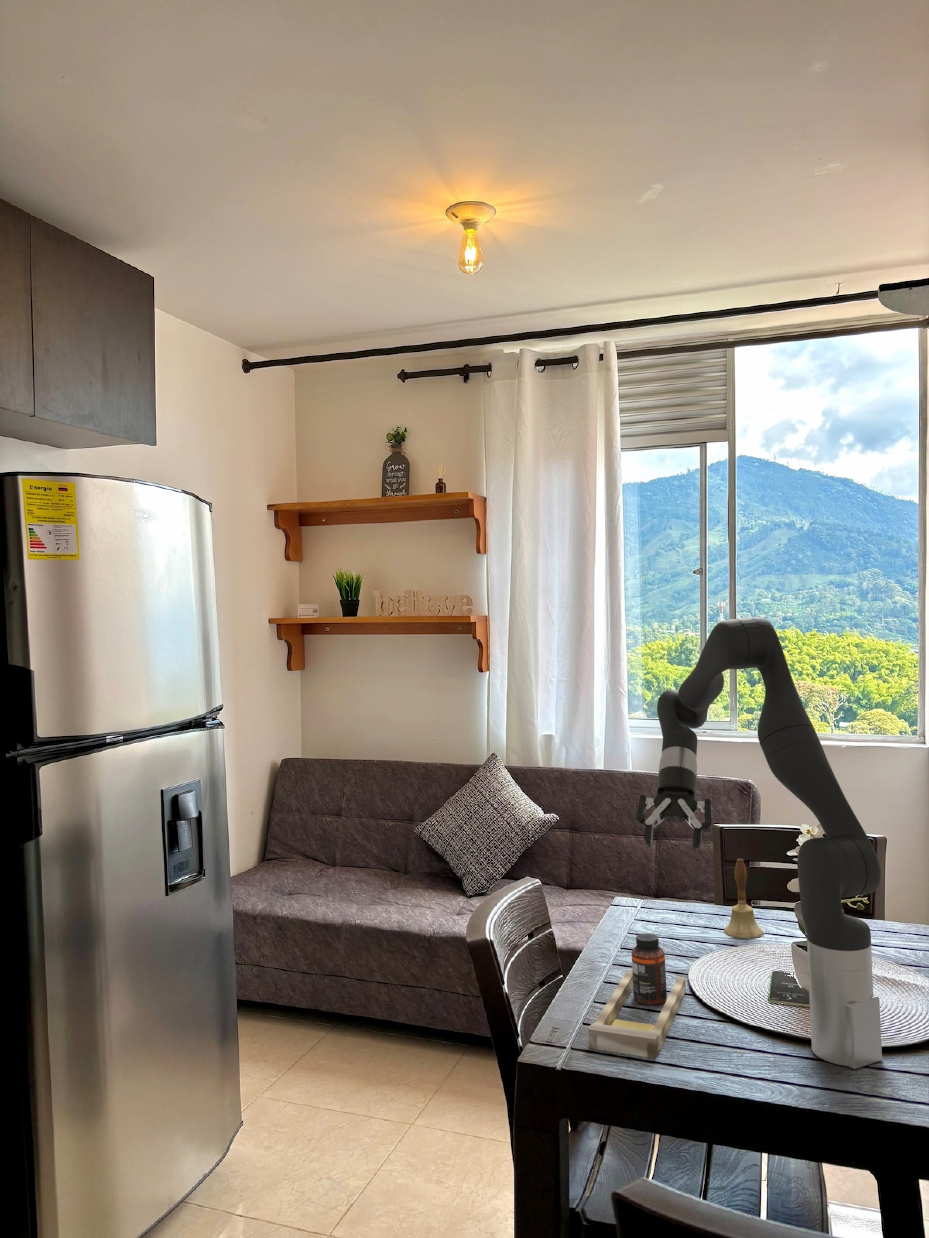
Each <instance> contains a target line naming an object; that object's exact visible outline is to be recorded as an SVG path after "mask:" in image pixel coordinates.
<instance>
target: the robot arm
mask: <svg viewBox="0 0 929 1238" xmlns="http://www.w3.org/2000/svg"><path fill="white" fill-rule="evenodd" d="M779 638H780V637H779V636H778V634H777V631H776V629H775V628H774V626H773V624H772V623H771V621H769V620H768V619H767V618H765V617H756V616H754V617H744V618H732V619H724V620H721V621H720V622H718V623H716V625H715V626H714V627H713V628H712V630H711V632H710V633H709V635H708V637H707V639H706V641H705V645H704V647H703V648H702V651H701V653H700V655H699V658H698V661H697V662H696V665H695V666H694V669H693V670H692V671H691V672H690V673H689V674H688V676H687V677H686V678H685V679H684V681H683V682H682V683H681V684H680V686H679V688H678V689H677V690H676V689H672V688H671V689H666V690H664V691H663V692H662V693H661V694H660V695H659V697H658V701H657V703H656V704H657V705H656V712H657V716H658V717H657V718H658V722H659V725H660V729H661V734H662V745H661V746H662V747H661V756H660V758H659V759H660V760H659V767H658V777H657V784H656V786H657V787H656V795H655V797H654V798H652V797H647V796H646V795H645V794H641V795H640V796H639V800H638V806H637V812H636V817H635V819H636V824H637V827H638V828H644V834H643V840H644V843H645V845H647V848H650V849H651V848H653V841H654V840H653V837H654V829H655V828H656V827H657V826H658V825H660V824H661V823H663V821H664V820H665V821H666V822H678V823H683V822H685V821H686V822H687V824H688V825H689V826H690V827H691V828H692V829H693V834H692V835H693V836H692V837H693V838H692V849H693V851H692V852H698V849H701V847H702V837H703V834H704V833H711V832H712V831H713V811H712V808H713V807H712V802H711V801H712V800H711V799H710V798H705V799H704V800H697V798H696V794H697V778H698V762H697V761H698V760H697V754H698V753H697V752H698V736H697V734H696V732H695V731H694V730H693V729H699V728H701V727H703V725H704V724H705V722H706V720H707V717H708V713H709V711H708V710H709V709H710V706H711V705H712V703H714V702H715V700H716V699H717V698H719V696H720V694H721V693H722V691H723V689H724V687H725V678H724V674H723V672H725V671H727V670H734V671H735V670H736V671H737V670H744V669H745V670H747V669H756V668H757V670H758V671H759V673H760V676H761V678H762V681H763V686H764V691H765V692H764V693H765V694H764V700H763V705H762V708H761V712H760V716H759V720H758V724H757V725H758V726H757V739H758V743H759V744H760V747H761V748H760V749H761V750H762V752H763V753H762V754H763V755H764V757H765V760H766V762H767V765H768V767H769V770H770V771H771V773H772V774H773V775H774V777H775V778H776V779H777V780H778V781H779V782H780V783H781V784H782V785H783V786H784V787H785V788H786V789H787V790H788V791H789V792H790V793H792V794H793V795H794V797H796V798H797V799H799V800H800V801H801V803H803V804H804V806H806V807H807V808H808V809H809V810H810V812H812V814H813V815H814V817H815V818H816V819H817V821H818V823H819V824H820V826H821V828H822V830H823V832H824V834H825V836H824V837H815V838H810V839H806V840H805V841H803V842H802V844H801V846H800V847H799V850H798V854H797V862H796V863H797V865H796V866H797V878H798V888H799V896H800V897H799V899H800V909H801V910H800V911H801V916H802V919H803V922H804V925H805V930H806V931H805V932H806V946H807V947H806V949H807V953H806V954H807V974H808V977H809V1000H810V1008H809V1017H810V1018H809V1020H810V1038H811V1050H812V1053H813V1054H815V1056H817V1057H818V1058H819V1059H822V1060H824V1061H826V1062H829V1063H832V1064H835V1065H841V1066H845V1067H848V1068H850V1069H853V1070H856V1069H857V1070H858V1069H860V1068H863V1067H865V1066H868V1065H871V1064H874V1063H878V1062H879V1061H882V1060H883V1052H882V1051H883V1050H882V1049H883V1047H882V1028H881V1027H882V1026H881V1025H882V1024H881V1009H880V1008H881V1006H880V1005H881V1003H880V997H879V996H877V995H875V994H874V982H873V980H874V979H873V976H874V975H873V958H872V957H873V955H872V954H873V953H872V936H871V935H872V934H871V933H872V932H871V928H870V926H869V925H868V923H866V922H865V921H864V920H862V919H860V918H858V917H855V916H852V915H848V914H845V913H844V909H843V903H842V898H851V897H857V896H865V895H869V894H872V893H874V892H875V891H877V890H878V888H879V886H880V884H881V881H882V880H881V879H882V873H881V872H882V870H881V866H880V861H879V859H878V856H877V853H876V851H875V849H874V846H873V843H872V842H871V840H870V839H869V837H868V836H867V833H866V831H865V830H864V828H863V826H862V825H861V822H860V821H859V819H858V817H857V816H856V814H855V812H854V810H853V809H852V807H851V805H850V803H849V801H848V800H847V798H846V795H845V794H844V792H843V790H842V788H841V786H840V783H839V782H838V779H837V777H836V775H835V774H834V771H833V769H832V766H831V764H830V763H829V760H828V757H827V755H826V753H825V751H824V747H823V745H822V743H821V740H820V738H819V736H818V734H817V732H816V729H815V727H814V726H813V723H812V721H811V719H810V717H809V715H808V713H807V710H806V709H805V707H804V705H803V702H802V699H801V697H800V694H799V692H798V690H797V687H796V685H795V682H794V679H793V677H792V674H791V671H790V668H789V666H788V662H787V659H786V656H785V652H784V651H783V650H784V648H783V646H782V644H781V641H780V639H779ZM651 806H653V807H655V809H654V810H653V811H652V813H651V814H650V816H649V817H648V818H646V813H647V810H649V809H650V808H651ZM698 809H700V811H701V813H703V814H704V822H700V821H699V820H698V818H697V817H696V815H695V812H696V810H698Z"/></svg>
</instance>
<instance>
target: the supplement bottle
mask: <svg viewBox="0 0 929 1238" xmlns="http://www.w3.org/2000/svg"><path fill="white" fill-rule="evenodd" d="M635 941H636V942H635V944H636V945H635V946H634V947H633V948H632V950H631V971H632V974H633V989H632V993H633V998H634V1000H635V1001H636V1002H637V1003H639V1004H642V1005H646V1006H655V1005H656V1006H657V1005H661V1004H663V1003H666V1000H667V998H668V997H667V994H668V993H667V991H668V990H667V974H666V955H665V954H666V953H665V950H664V949H663V948H662V947H660V944H659V943H660V942H659V936H658V935H656V934H654V933H648V932H647V933H640V934H637V935H636V936H635Z"/></svg>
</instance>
